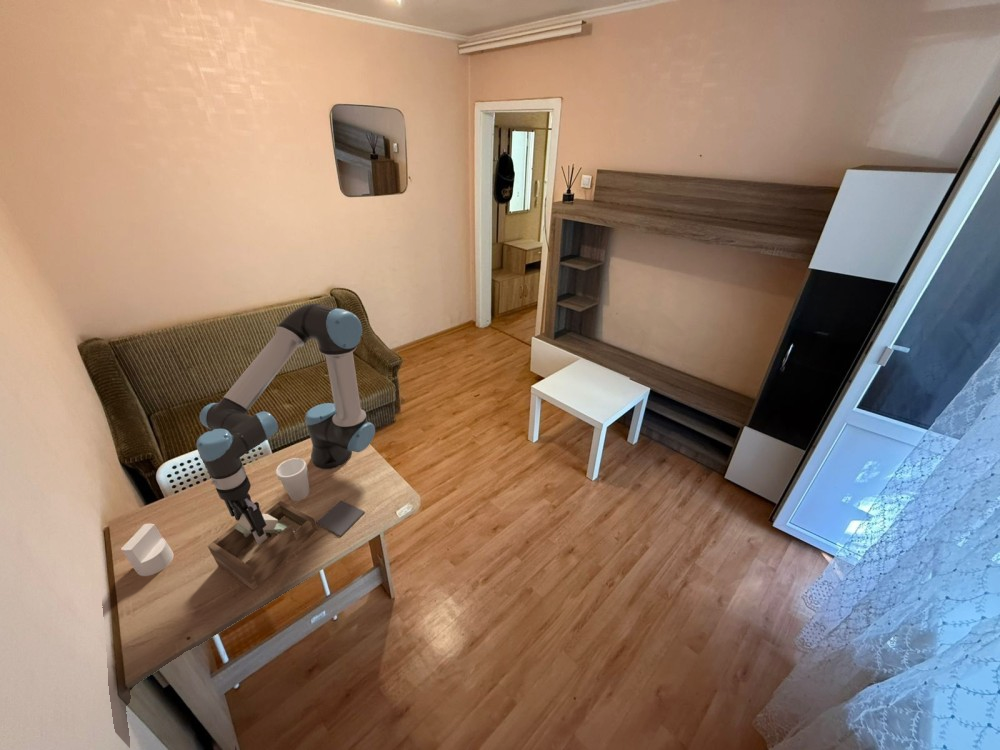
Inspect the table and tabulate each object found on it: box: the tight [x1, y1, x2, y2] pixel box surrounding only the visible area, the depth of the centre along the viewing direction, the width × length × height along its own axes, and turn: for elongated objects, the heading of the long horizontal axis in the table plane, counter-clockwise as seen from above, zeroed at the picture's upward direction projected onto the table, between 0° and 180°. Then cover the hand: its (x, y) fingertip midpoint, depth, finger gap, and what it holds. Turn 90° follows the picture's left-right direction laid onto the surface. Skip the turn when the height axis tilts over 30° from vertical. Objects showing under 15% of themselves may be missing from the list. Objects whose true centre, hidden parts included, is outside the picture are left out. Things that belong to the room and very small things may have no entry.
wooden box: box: [207, 500, 319, 591], centre depth 125 cm, size 23×16×10 cm
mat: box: [315, 499, 366, 537], centre depth 138 cm, size 11×11×1 cm
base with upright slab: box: [120, 522, 175, 577], centre depth 120 cm, size 9×9×12 cm
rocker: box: [235, 521, 297, 535], centre depth 125 cm, size 19×9×2 cm
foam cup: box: [275, 457, 310, 502], centre depth 143 cm, size 10×9×13 cm
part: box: [236, 513, 279, 531], centre depth 121 cm, size 9×5×3 cm
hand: (255, 537), depth 122 cm, fingers closed on part, 5 cm apart
